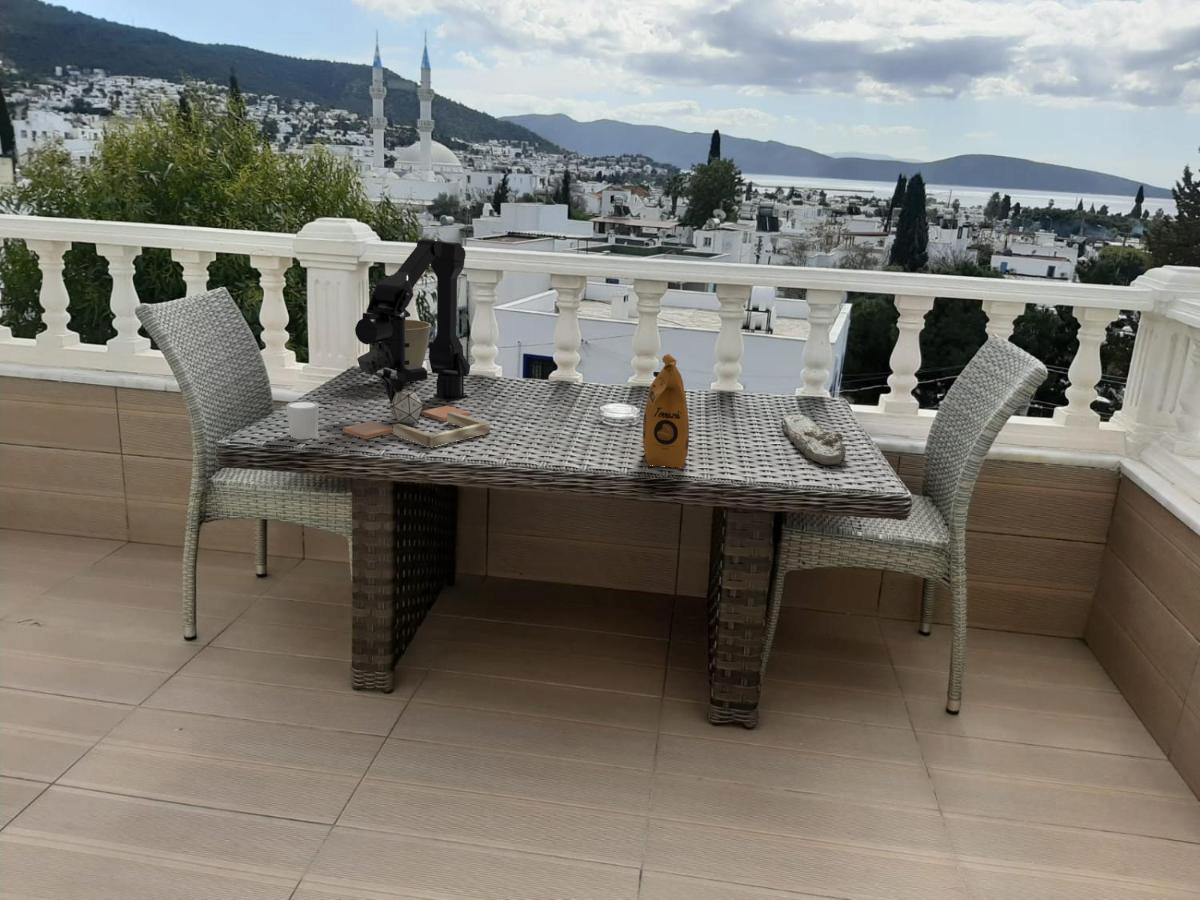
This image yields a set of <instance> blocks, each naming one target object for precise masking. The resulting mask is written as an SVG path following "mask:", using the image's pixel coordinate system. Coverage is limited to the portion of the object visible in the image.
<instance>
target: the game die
mask: <svg viewBox="0 0 1200 900" xmlns="http://www.w3.org/2000/svg"><path fill="white" fill-rule="evenodd" d="M417 390H418V389H417V388H414V389H413V390H410V391H409V390H408V391H407V390H405V391H403V390H402V391H401V392H396V390H395V389H394V392H395V395H394V398H393V400H392V403H390V406H389V407H386V408H385V409H386V410H390V411H391V413H392V415H393V416H394V418H395V420H396V421H397V422H396V423H395V424H400V423H411V422H416V424H418V425H419V424H420V422H419V417H420V416H421V411H423V408H424V407H426V406H427V403H423V402H422V400H421V399H420V396H419V395H418V394H417Z"/></svg>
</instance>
